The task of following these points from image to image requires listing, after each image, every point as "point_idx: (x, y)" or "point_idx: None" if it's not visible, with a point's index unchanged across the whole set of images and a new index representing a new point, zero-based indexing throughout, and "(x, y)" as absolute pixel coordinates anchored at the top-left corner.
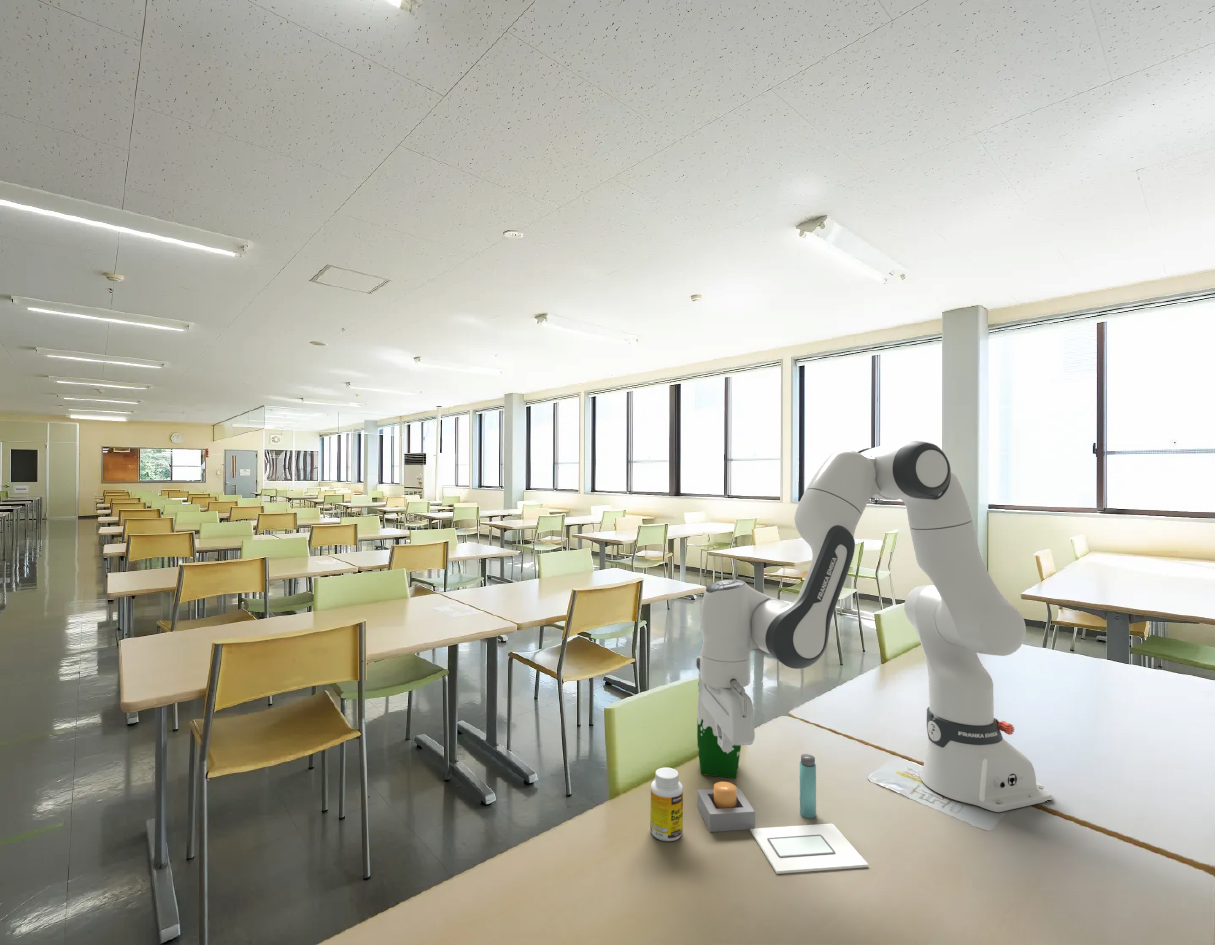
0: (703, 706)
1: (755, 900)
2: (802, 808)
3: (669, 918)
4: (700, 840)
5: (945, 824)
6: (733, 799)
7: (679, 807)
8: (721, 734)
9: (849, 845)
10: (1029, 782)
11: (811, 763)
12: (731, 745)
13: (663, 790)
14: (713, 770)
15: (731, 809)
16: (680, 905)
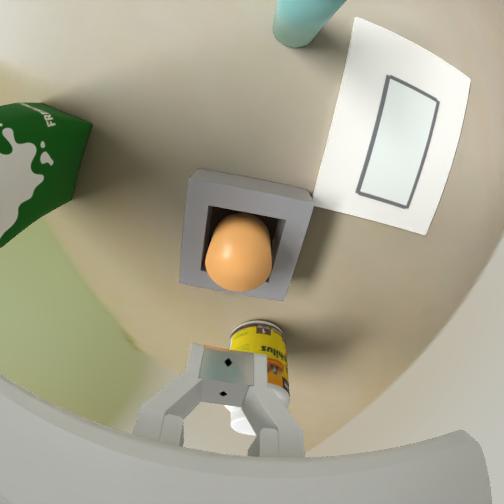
0: None
1: (434, 288)
2: (301, 43)
3: (392, 367)
4: (296, 302)
5: None
6: (269, 246)
7: (286, 372)
8: (195, 400)
9: (428, 55)
10: None
11: None
12: (266, 374)
13: None
14: (71, 179)
15: (283, 252)
16: (387, 357)
